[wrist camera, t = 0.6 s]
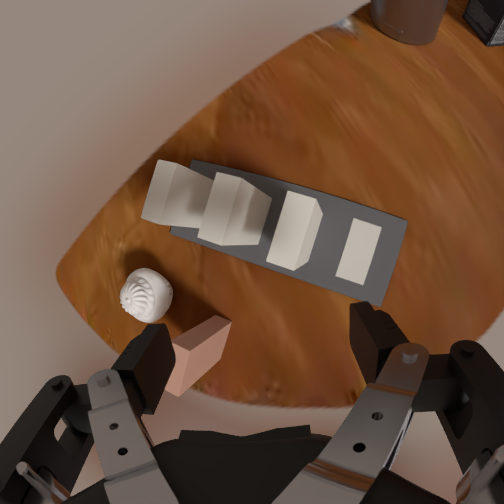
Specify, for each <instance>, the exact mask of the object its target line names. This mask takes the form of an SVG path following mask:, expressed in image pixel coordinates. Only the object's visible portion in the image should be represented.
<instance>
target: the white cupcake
mask: <svg viewBox="0 0 504 504" xmlns="http://www.w3.org/2000/svg"><path fill="white" fill-rule="evenodd" d="M120 293H121V294H120V299H121V300H120V303H121V304H122V307H123V308H125V311H126V312H129V314H130V315H133V316H134V317H135V318H137V319H138V320H140V321H142V322H147V323H151V322H155V321H157V320H158V319H160V318H161V317H162V316H163V315H164V314H165V313H166V311H167V310H168V309H169V306H170V304H171V301H172V297H173V290H172V286H171V285H170V283H169V281H168V280H166V279H165V278H164V277H163V276H162V275H161V274H160V273H157V272H156V271H153V270H151V269H148V268H140V269H137V270H135V271H134V272H132V273H131V274H130V275H129V276H128V278H127V280H126V283H125V285H124V286H123V288H122V289H121V292H120Z"/></svg>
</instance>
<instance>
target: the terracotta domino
mask: <svg viewBox="0 0 504 504" xmlns="http://www.w3.org/2000/svg"><path fill="white" fill-rule="evenodd" d="M231 323H232V321H230V320H227V319H225V318H222V317H220V316H218V315H215V316H213V317H211V318H210V319H208V320H206V321H204V322H203V323H201V324H199V325H197V326H196V327H194V328H192V329H190V330H188V331H187V332H185V333H183V334H181V335H179V336H178V337H176V338H174V339H172V340H171V342H172V345H173V348H174V351H175V355H176V363H175V367H174V369H173V371H172V373H171V376H170V378H169V380H168V382H167V385H166V387H165V390H167V391H169V392H170V393H172V394H174V395H176V396H178V397H179V396H180V395H181V394H182V393H183V392H185V391H186V390H187V389H188V388H189V387H190V386H191V385H192V384H194V383H195V382H196V381H197V380H198V379H199V378H200V377H201V376H202V375H204V374H205V373H206V372H207V371H208V370H209V369H210V368H211V367H212V366H213V365H214V364H216V363H217V362H218V361H219V360H220V359H221V355H222V352H223V349H224V346H225V343H226V339H227V336H228V333H229V330H230V326H231Z"/></svg>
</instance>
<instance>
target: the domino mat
mask: <svg viewBox="0 0 504 504" xmlns="http://www.w3.org/2000/svg"><path fill="white" fill-rule="evenodd" d="M189 169H191V170H193V171H195V172H197V173H199V174H201V175H203V176H205V177H208V178H210V179H212V180H214V179H215V176H216V173H217V172H219V173H224V174H228V175H232V176H236V177H240V178H242V179H244V180H246V181H247V182H249V183H250V184H252V185H253V186H255V187H256V188H258V189H259V190H261V191H262V192H263V193H265V194H266V195H268V196H269V197H271V198H272V201H271V204H270V207H269V211H268V214H267V217H266V220H265V224H264V227H263V230H262V233H261V237H260V240H259V243H258V245H226V246H221V245H218V244H215V243H212V242H209V241H206V240H203V239H201V238H198V237H197V236H198V233H199V229H200V228H191V227H181V226H172V227H171V231H170V234H173V235H175V236H178V237H181V238H184V239H187V240H189V241H192V242H195V243H198V244H201V245H203V246H206V247H209V248H212V249H215V250H217V251H220V252H223V253H226V254H229V255H232V256H234V257H237V258H240V259H243V260H246V261H249V262H251V263H254V264H257V265H260V266H263V267H266V268H269V269H271V270H274V271H277V272H280V273H283V274H286V275H289V276H291V277H294V278H297V279H300V280H303V281H306V282H309V283H312V284H315V285H317V286H320V287H323V288H326V289H329V290H332V291H335V292H338V293H341V294H344V295H347V296H350V297H353V298H355V299H358V300H361V301H368V302H369V303H370V304H373V305H376V306H379V307H380V306H381V304H382V301H383V298H384V295H385V293H386V290H387V287H388V284H389V281H390V279H391V276H392V273H393V270H394V267H395V264H396V260H397V257H398V254H399V251H400V247H401V244H402V241H403V237H404V234H405V230H406V227H407V223H408V221H406V220H403V219H401V218H398V217H395V216H392V215H389V214H387V213H384V212H381V211H378V210H375V209H372V208H369V207H366V206H363V205H360V204H357V203H354V202H351V201H348V200H345V199H342V198H339V197H335V196H332V195H329V194H326V193H322V192H319V191H316V190H312V189H309V188H305V187H302V186H298V185H295V184H291V183H288V182H284V181H280V180H277V179H273V178H269V177H265V176H261V175H257V174H253V173H249V172H245V171H241V170H237V169H233V168H229V167H224V166H220V165H216V164H211V163H207V162H202V161H197V160H192V161H191V164H190V167H189ZM287 191H291V192H295V193H298V194H302V195H305V196H308V197H312V198H315V199H317V202H318V204H319V206H320V208H321V211H322V213H323V215H322V219H321V222H320V225H319V228H318V232H317V235H316V238H315V241H314V244H313V248H312V251H311V254H310V257H309V260H308V262H307V263H305V264H304V265H302V266H300V267H299V268H297V269H296V270H294V271H293V270H290V269H287V268H284V267H281V266H278V265H275V264H272V263H269V262H267V261H266V259H267V256H268V253H269V250H270V246H271V243H272V240H273V237H274V234H275V230H276V227H277V224H278V221H279V218H280V214H281V211H282V208H283V204H284V201H285V198H286V195H287Z"/></svg>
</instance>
